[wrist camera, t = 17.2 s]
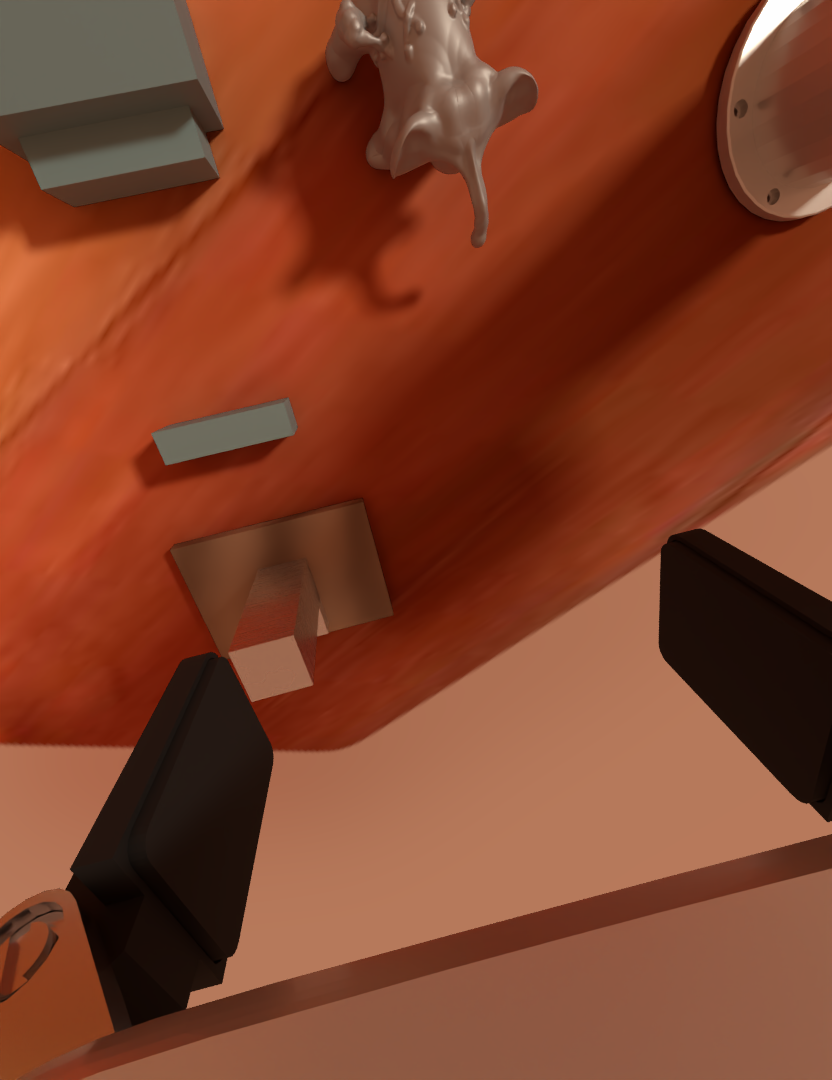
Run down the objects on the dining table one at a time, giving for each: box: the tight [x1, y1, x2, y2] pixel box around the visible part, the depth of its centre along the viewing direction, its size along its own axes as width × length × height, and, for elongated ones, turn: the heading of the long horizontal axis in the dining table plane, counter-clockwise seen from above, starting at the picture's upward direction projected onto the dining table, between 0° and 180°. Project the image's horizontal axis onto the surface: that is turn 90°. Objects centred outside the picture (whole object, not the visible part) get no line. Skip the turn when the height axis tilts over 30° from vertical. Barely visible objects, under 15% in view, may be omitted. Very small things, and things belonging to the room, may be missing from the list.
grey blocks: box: [0, 0, 298, 465], centre depth 24 cm, size 10×21×5 cm, turn 12°
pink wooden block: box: [228, 557, 329, 702], centre depth 30 cm, size 4×6×10 cm, turn 12°
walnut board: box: [170, 498, 394, 659], centre depth 35 cm, size 14×10×1 cm
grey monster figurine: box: [326, 0, 538, 248], centre depth 22 cm, size 9×12×8 cm
